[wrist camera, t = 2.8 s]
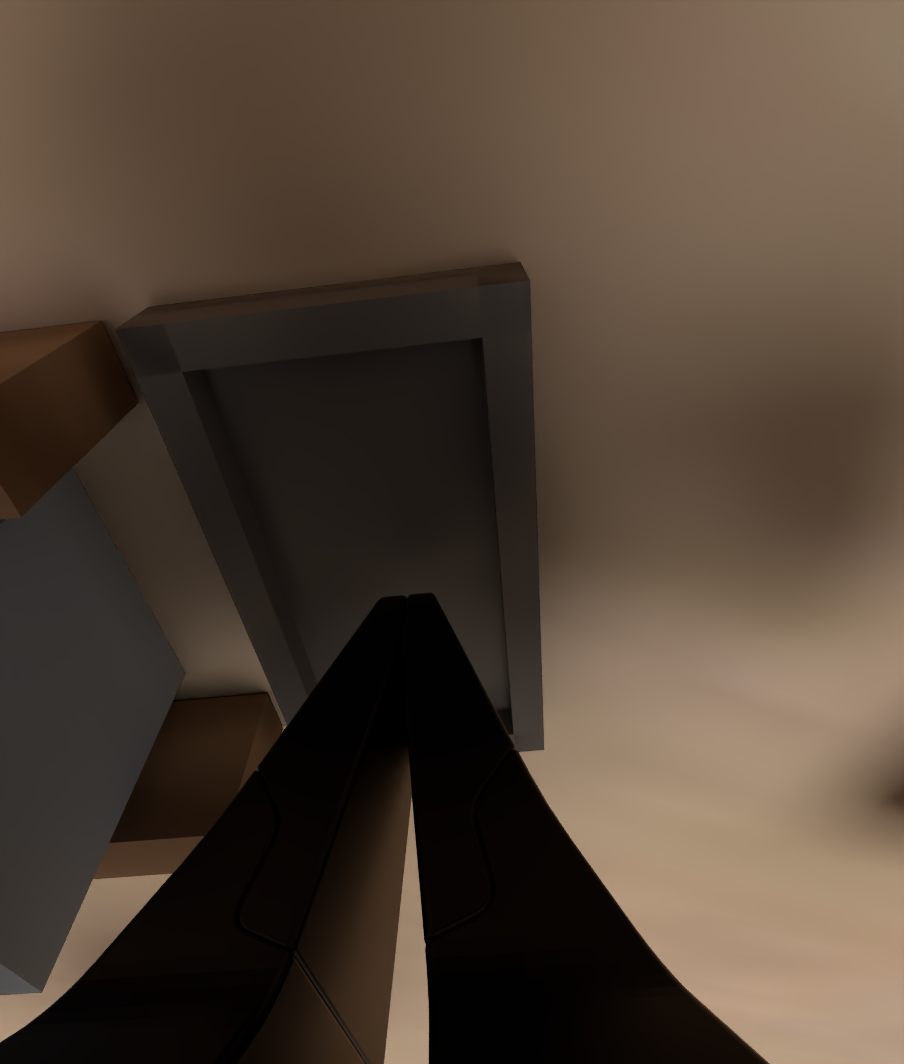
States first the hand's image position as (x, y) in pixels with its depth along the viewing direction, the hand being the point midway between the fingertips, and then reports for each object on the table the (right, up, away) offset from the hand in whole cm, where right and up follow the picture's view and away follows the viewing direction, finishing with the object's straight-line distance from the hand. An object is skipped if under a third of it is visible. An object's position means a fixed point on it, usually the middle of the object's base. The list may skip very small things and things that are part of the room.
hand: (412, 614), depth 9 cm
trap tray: (0, +1, +1) cm, 2 cm away
